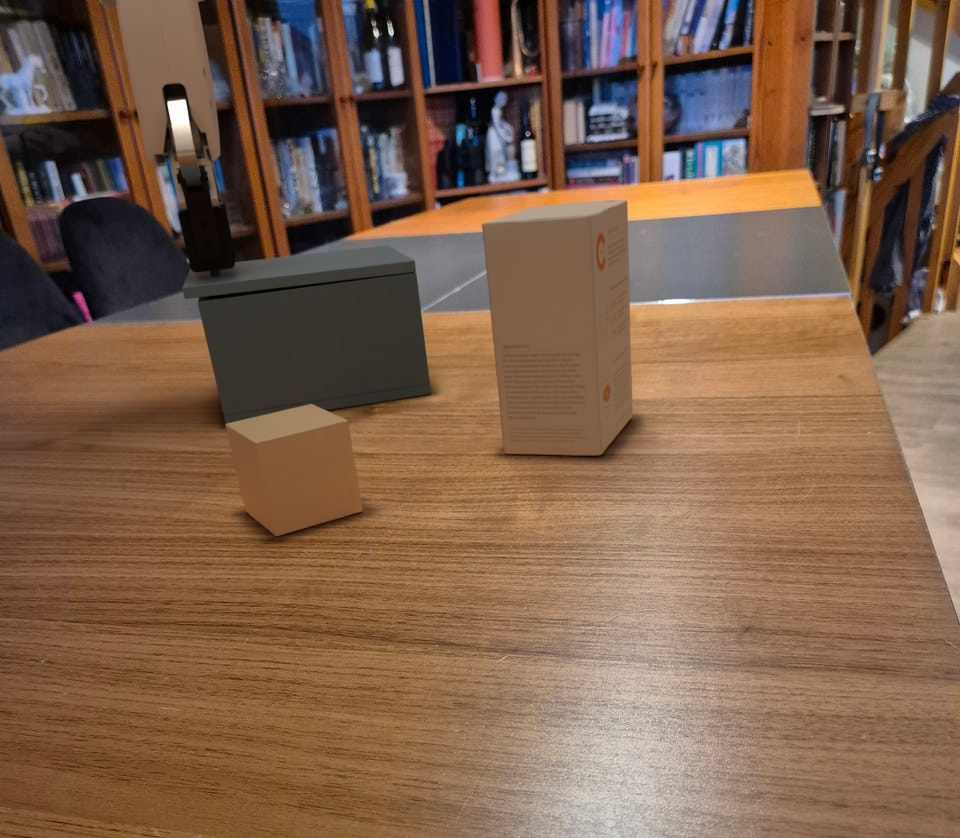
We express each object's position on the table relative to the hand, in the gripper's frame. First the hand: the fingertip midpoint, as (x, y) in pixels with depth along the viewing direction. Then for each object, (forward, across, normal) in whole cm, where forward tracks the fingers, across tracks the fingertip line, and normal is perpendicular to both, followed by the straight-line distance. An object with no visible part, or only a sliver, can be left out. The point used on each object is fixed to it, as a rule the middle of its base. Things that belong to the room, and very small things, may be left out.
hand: (214, 263), depth 70 cm
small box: (+11, +23, +20) cm, 32 cm away
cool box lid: (+2, 0, +6) cm, 6 cm away
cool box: (+11, 0, +6) cm, 12 cm away
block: (+11, +28, +3) cm, 30 cm away
